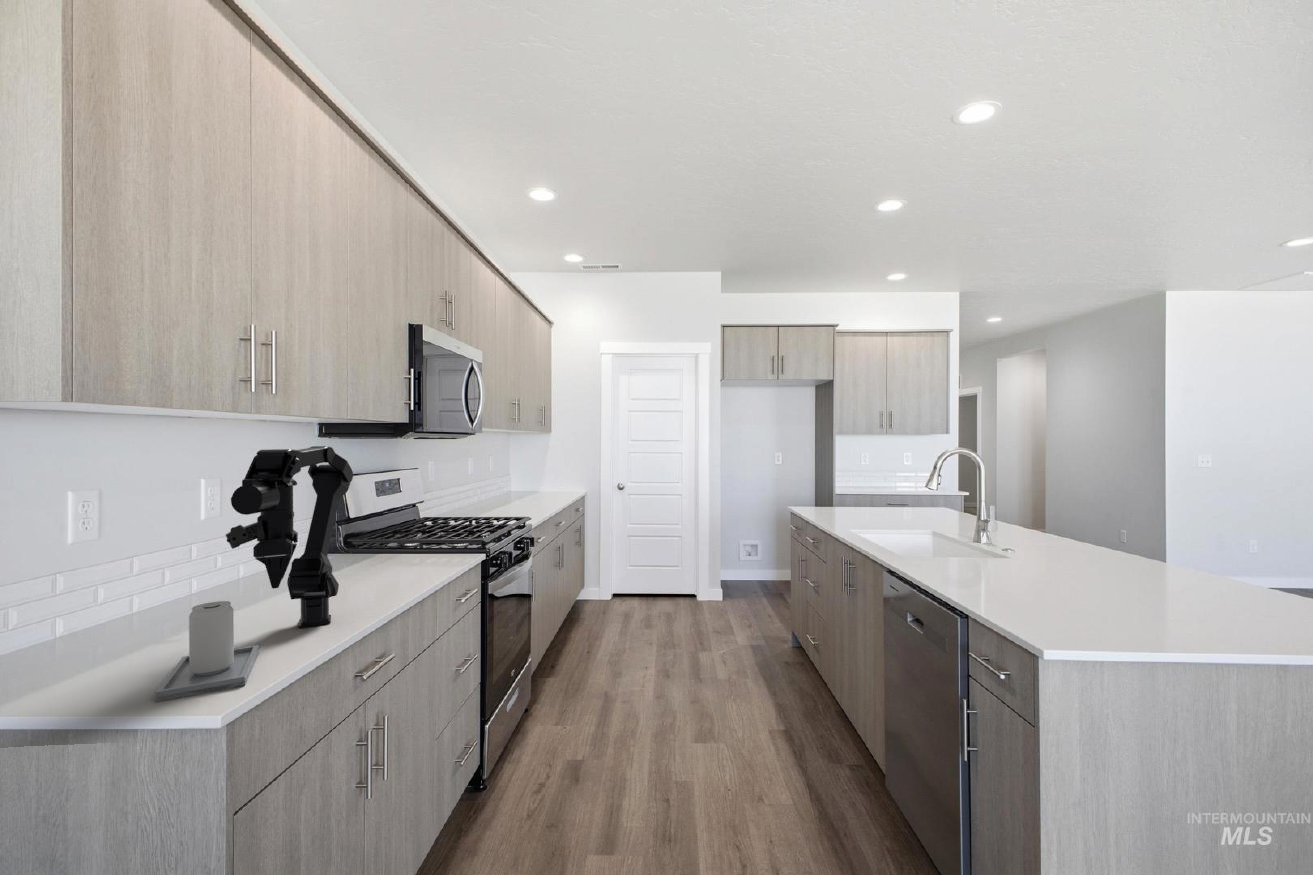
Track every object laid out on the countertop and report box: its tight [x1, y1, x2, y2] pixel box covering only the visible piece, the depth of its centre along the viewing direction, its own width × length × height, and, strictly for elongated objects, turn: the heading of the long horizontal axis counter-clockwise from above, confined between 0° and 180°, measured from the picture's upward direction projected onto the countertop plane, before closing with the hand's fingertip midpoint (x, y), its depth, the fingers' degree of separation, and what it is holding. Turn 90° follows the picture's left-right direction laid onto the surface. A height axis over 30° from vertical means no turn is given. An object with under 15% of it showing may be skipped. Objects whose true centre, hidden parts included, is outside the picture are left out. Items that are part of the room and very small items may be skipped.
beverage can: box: [188, 600, 235, 676], centre depth 103 cm, size 6×6×12 cm
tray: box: [154, 644, 260, 703], centre depth 103 cm, size 18×12×2 cm, turn 29°
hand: (277, 583), depth 118 cm, fingers open, 9 cm apart
